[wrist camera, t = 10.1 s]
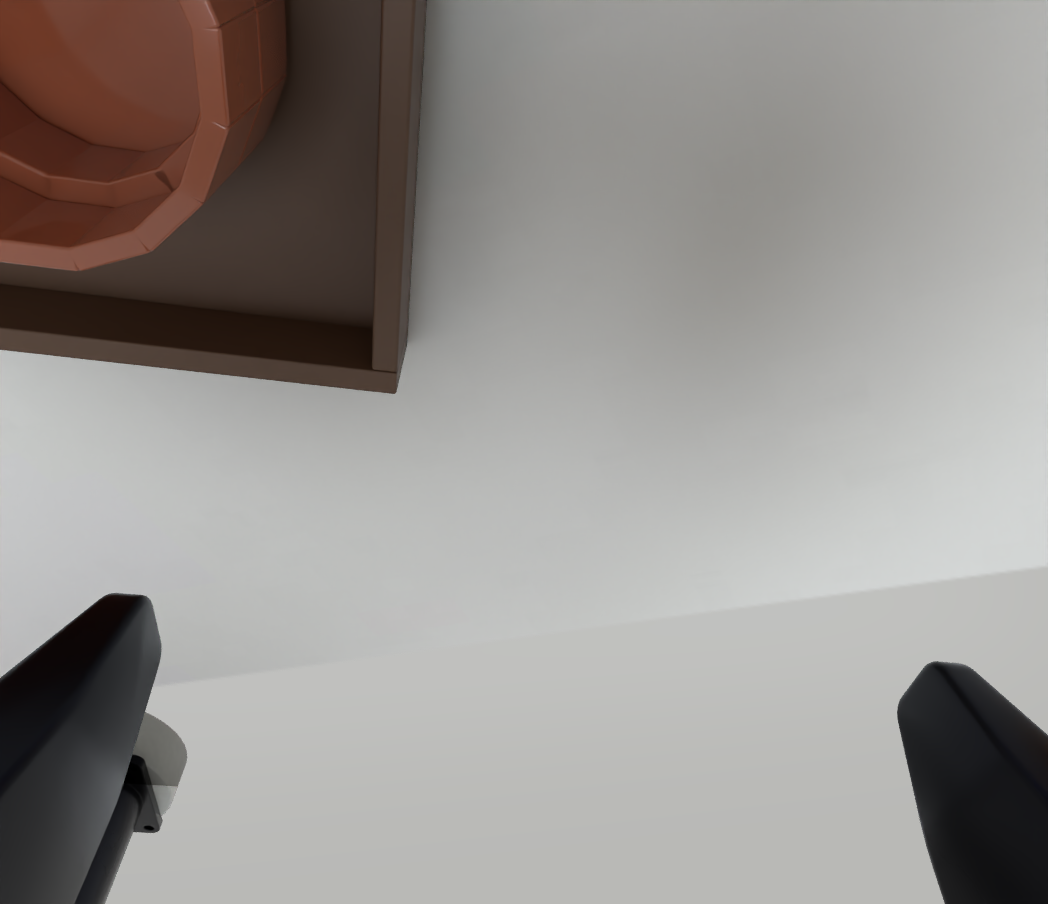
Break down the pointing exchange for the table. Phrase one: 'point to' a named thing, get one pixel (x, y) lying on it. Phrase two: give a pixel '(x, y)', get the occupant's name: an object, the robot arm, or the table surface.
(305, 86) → the tray
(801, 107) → the table surface
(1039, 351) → the table surface
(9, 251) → the plant pot
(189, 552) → the table surface
